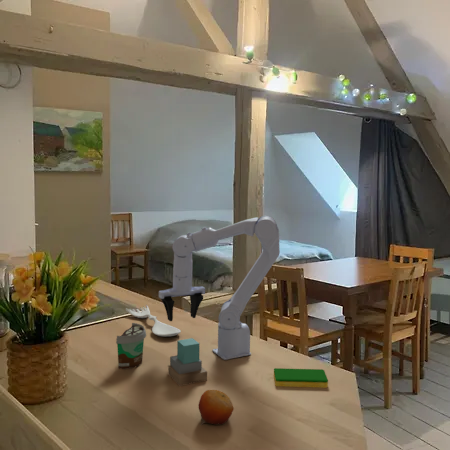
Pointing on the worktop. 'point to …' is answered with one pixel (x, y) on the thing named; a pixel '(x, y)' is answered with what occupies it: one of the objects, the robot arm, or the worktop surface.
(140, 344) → the food container
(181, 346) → the teal block
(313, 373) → the dish sponge
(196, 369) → the gray block
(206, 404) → the fruit
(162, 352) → the worktop surface
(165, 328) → the spoon
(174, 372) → the walnut slab
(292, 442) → the worktop surface
